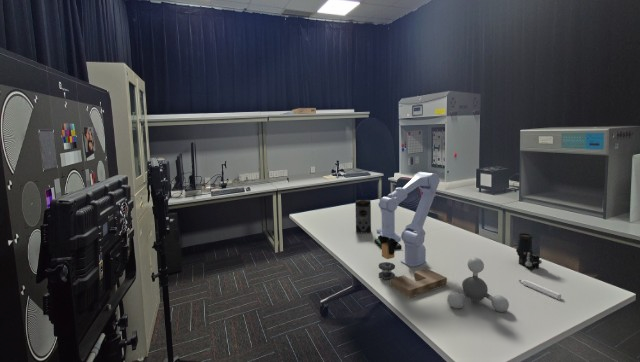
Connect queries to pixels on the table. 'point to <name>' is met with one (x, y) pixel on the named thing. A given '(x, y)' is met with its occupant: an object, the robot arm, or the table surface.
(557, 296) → the marker
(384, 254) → the orange rectangular block
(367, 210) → the electronic device
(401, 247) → the disk drive
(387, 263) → the bobbin
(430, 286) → the notched board
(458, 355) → the table surface
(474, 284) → the molecule model
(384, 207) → the robot arm
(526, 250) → the scope
